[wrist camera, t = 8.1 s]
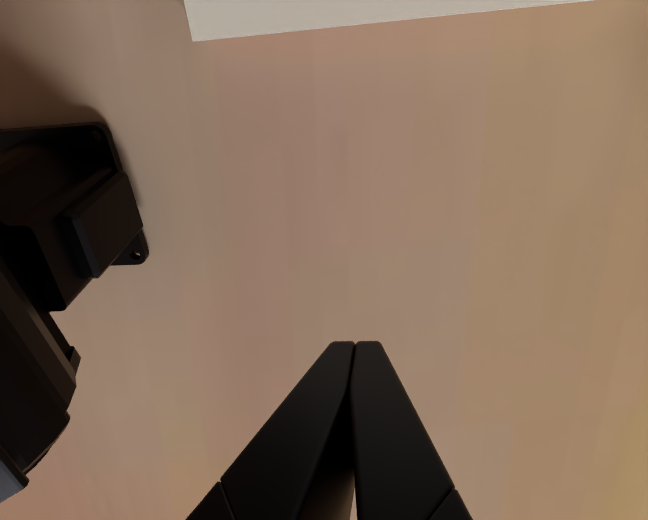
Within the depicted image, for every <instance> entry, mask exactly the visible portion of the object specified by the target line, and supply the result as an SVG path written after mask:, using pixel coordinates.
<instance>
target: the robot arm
mask: <svg viewBox="0 0 648 520" xmlns="http://www.w3.org/2000/svg"><path fill="white" fill-rule="evenodd" d="M94 131H96V132H97V133H99V134H100V136H101V140H98V139H97V138H96V137H95V136H94ZM142 227H143V223H142V220H141V217H140V214H139V210H138V207H137V204H136V201H135V198H134V195H133V192H132V188H131V185H130V182H129V179H128V176H127V175H126V174H125V172H124V171H123V169H122V166H121V163H120V160H119V156H118V153H117V150H116V147H115V144H114V141H113V138H112V135H111V132H110V130H109V128H108V127H107V126H106V125H104V124H102V123H100V122H87V123H75V124H62V125H50V126H38V127H25V128H13V129H0V503H1V502H2V501H4V500H6V499H7V498H9V497H11V496H12V495H14V494H16V493H18V492H19V491H21V490H22V489H24V488H25V487H26V486H27V485H28V483H29V479H28V478H27V476H26V474H27V473H28V472H29V471H30V470H32V469H33V468H34V467H35V466H36V465H37V464H38V463H39V462H40V461H41V459H42V458H43V457H44V456H45V455H46V454H47V452H48V451H49V449H50V448H51V446H52V445H53V444H54V443H55V442H56V440H57V439H58V438H59V437H60V435H61V434H62V433H63V431H64V430H65V429H66V427H67V425H68V423H69V420H70V415H69V414H68V412H67V411H66V410H67V409H68V407H69V404H70V402H71V399H72V396H73V394H74V391H75V388H76V378H75V376H76V373H77V369H78V366H79V363H80V359H81V357H80V355H79V354H78V352H77V351H76V349H75V348H74V347H73V346H70V345H69V344H68V342H67V340H66V339H65V337H64V336H63V334H62V333H61V331H60V329H59V328H58V326H57V325H56V323H55V321H54V320H53V318H52V317H51V315H50V314H49V313H50V312H51V311H63V310H65V309H66V308H67V307H68V306H69V305H70V303H71V302H72V301H73V300H74V299H75V298H76V297H77V296H78V294H79V293H80V292H81V291H82V290H83V289H84V288H85V287H86V285H87V284H88V283H89V282H90V281H91V280H92V279H93V278H99V277H100V276H101V275H102V274H103V273H104V272H105V270H106V269H107V268H108V267H109V266H111V265H138V264H142V263H143V262H144V261H145V260H146V259H147V258H148V256H149V250H148V246H147V243H146V240H145V237H144V234H143V231H142ZM133 250H135V251H137V252H139V254H140V255H137V254H135V253H134V251H133ZM220 481H221V482H217V483H216V484H215V485H214V486H213V488H212V489H211V490H210V491H209V492H208V494H207V495H206V496H205V497H204V499H203V500H202V501H201V502H200V503H199V504H198V506H197V507H196V508H195V509H194V510H193V511H192V513H191V514H190V515H189V516H188V517H187V518H186V520H350V513H351V507H352V501H353V494H354V488H355V494H356V508H357V520H473V519H472V517H471V515H470V514H469V512H468V510H467V508H466V506H465V504H464V502H463V500H462V498H461V496H460V494H459V493H458V491H457V490H456V489H455V486H454V483H453V482H452V480H451V478H450V476H449V474H448V472H447V470H446V468H445V466H444V464H443V462H442V460H441V458H440V456H439V455H438V453H437V451H436V449H435V447H434V445H433V443H432V441H431V439H430V437H429V435H428V433H427V431H426V429H425V427H424V426H423V424H422V422H421V420H420V418H419V416H418V414H417V412H416V410H415V408H414V406H413V404H412V402H411V400H410V399H409V397H408V395H407V393H406V391H405V389H404V387H403V385H402V383H401V381H400V379H399V377H398V375H397V373H396V371H395V370H394V368H393V366H392V364H391V362H390V360H389V358H388V356H387V354H386V352H385V350H384V348H383V346H382V345H381V343H380V342H378V341H359V342H357V343H356V345H355V343H354V342H353V341H335V342H332V343H330V344H329V346H328V347H327V348H326V349H325V351H324V352H323V353H322V354H321V355H320V357H319V358H318V359H317V360H316V362H315V363H314V364H313V365H312V366H311V368H310V369H309V370H308V371H307V373H306V374H305V375H304V376H303V378H302V379H301V380H300V381H299V382H298V384H297V385H296V386H295V387H294V389H293V390H292V391H291V392H290V393H289V395H288V396H287V397H286V398H285V400H284V401H283V402H282V403H281V404H280V406H279V407H278V408H277V409H276V411H275V412H274V413H273V414H272V416H271V417H270V418H269V419H268V420H267V422H266V423H265V424H264V425H263V427H262V428H261V429H260V430H259V431H258V433H257V434H256V435H255V436H254V438H253V439H252V440H251V441H250V442H249V444H248V445H247V446H246V447H245V449H244V450H243V451H242V452H241V454H240V455H239V456H238V457H237V458H236V460H235V461H234V462H233V463H232V465H231V466H230V467H229V468H228V469H227V471H226V472H225V473H224V474H223V476H222V477H221V479H220Z"/></svg>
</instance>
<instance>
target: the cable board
mask: <svg viewBox="0 0 648 520" xmlns="http://www.w3.org/2000/svg"><path fill="white" fill-rule="evenodd" d="M583 1H592V0H184V4H185V8H186V13H187V18H188V22H189V27H190V31H191V36H192V40H193V42H194V41H204V40H213V39H223V38H233V37H243V36H252V35H262V34H272V33H281V32H291V31H301V30H311V29H320V28H330V27H340V26H349V25H359V24H369V23H379V22H388V21H398V20H408V19H417V18H427V17H437V16H447V15H456V14H466V13H476V12H485V11H495V10H505V9H515V8H524V7H534V6H544V5H553V4H563V3H573V2H583Z"/></svg>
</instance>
